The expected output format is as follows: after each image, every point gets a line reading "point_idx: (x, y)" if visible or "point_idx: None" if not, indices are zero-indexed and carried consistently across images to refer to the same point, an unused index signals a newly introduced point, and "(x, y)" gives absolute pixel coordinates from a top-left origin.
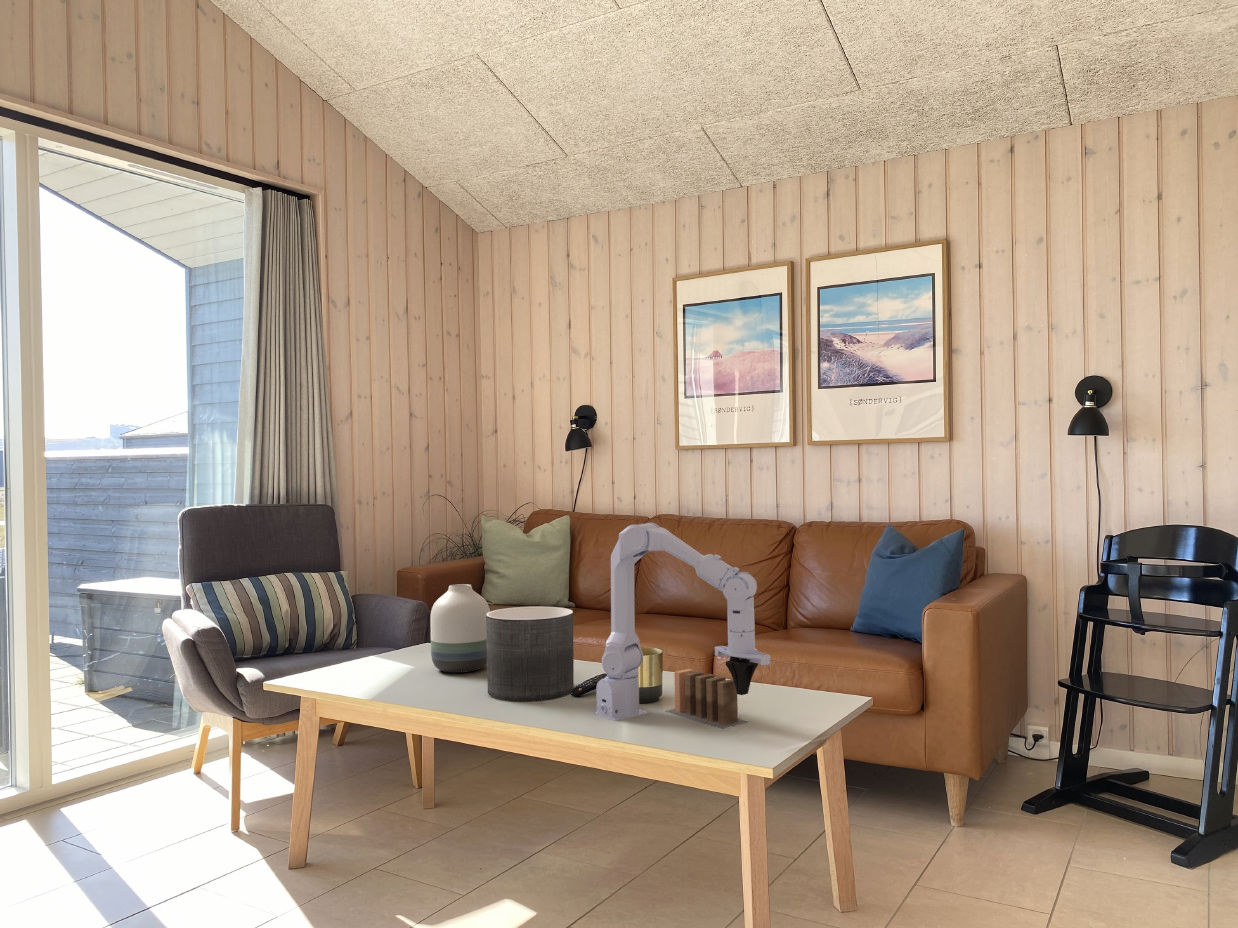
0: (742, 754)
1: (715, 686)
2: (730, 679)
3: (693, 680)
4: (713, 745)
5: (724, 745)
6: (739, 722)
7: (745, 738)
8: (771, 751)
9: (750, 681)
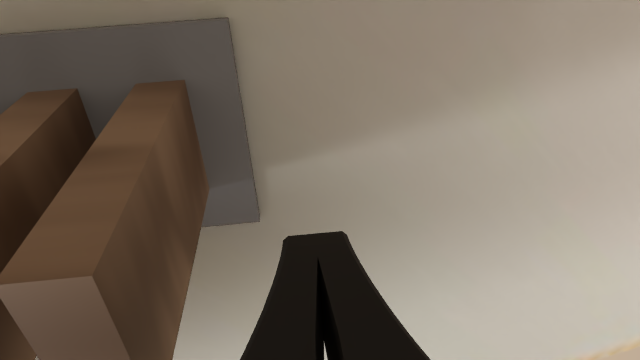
0: (546, 323)
1: (4, 343)
2: (13, 304)
3: None
4: None
5: (432, 317)
6: (207, 83)
7: (432, 216)
8: (623, 239)
9: (391, 312)
